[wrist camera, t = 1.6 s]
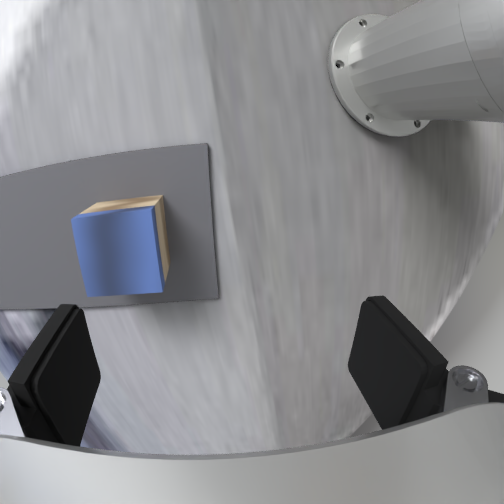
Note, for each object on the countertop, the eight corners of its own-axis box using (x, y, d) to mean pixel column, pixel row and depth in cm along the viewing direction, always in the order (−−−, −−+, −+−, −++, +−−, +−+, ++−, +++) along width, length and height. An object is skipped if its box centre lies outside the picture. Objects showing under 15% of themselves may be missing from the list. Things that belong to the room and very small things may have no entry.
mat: (207, 143, 25) (207, 143, 25) (218, 295, 30) (218, 298, 30) (-31, 186, 22) (-34, 186, 22) (-2, 307, 27) (-4, 309, 26)
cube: (162, 194, 26) (151, 209, 20) (170, 261, 28) (162, 292, 22) (96, 202, 25) (70, 219, 19) (107, 267, 27) (87, 297, 21)
